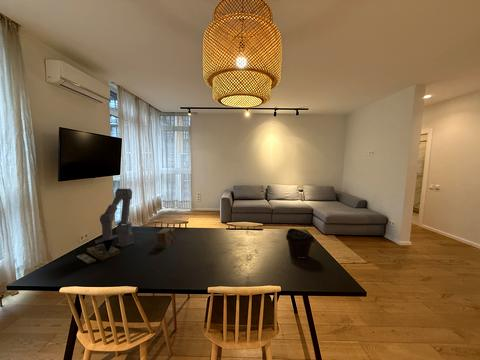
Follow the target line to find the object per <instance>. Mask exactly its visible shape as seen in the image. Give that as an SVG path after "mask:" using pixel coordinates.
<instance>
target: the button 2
mask: <svg viewBox="0 0 480 360" xmlns="http://www.w3.org/2000/svg"><path fill="white" fill-rule="evenodd" d="M102 244H103V243H102ZM99 245H100V246H99V250H100V251H104V250H106V248H105V246H104V244H103V245H101V244H99Z"/></svg>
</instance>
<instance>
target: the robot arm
mask: <svg viewBox="0 0 480 360" xmlns="http://www.w3.org/2000/svg"><path fill="white" fill-rule="evenodd" d="M114 192H115V193H114V194H115V197H114V198H113V201H112V203H111V204H109V205H108V206H107V208H106V210H105V211H104V213H102V214H101V215H100V216H99V222H100V225H101V230H102V231H101V233H102V237H100V238H99V239H95V240H94V242H95V244H97V245H98V244H99V243H102V244H104V246H105V248H106V251H109V250H110V247H111V246H112V244H113V242H114V239H118V242H119V243H116V246H119V247H121V248H124V247H127V246H130V245H133V244H134V234H133V232H132V231H133V226H132V224H133V223H132V222H130V221H129V216H130V209H131V208H130V206H131V200H132V198H133V197H132V196H133V190H132V189H131V188H119V187H118V188H117V189H116V190H115V191H114ZM121 201H122V208H121V216H120V221H119V222H117V226H116V227H115V231H116V233H117V234H113V221H114V219H115V214H116V212H117V210H118V205H119V204H120V203H121Z"/></svg>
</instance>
